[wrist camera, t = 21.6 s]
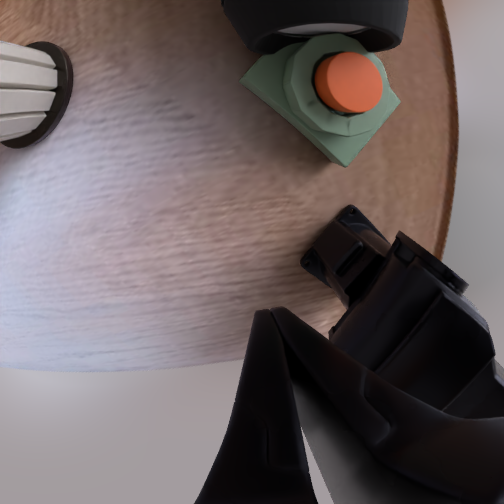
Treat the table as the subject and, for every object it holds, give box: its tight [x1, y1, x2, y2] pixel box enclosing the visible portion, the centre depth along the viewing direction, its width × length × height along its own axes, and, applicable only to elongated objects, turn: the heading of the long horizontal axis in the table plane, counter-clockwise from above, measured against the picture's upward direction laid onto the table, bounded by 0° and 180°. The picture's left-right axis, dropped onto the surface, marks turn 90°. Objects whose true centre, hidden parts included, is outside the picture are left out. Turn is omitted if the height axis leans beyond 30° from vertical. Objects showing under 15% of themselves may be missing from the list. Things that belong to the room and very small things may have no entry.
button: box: [315, 52, 383, 113], centre depth 13 cm, size 4×4×2 cm
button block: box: [239, 33, 401, 168], centre depth 15 cm, size 9×7×4 cm
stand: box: [0, 41, 73, 149], centre depth 10 cm, size 8×8×6 cm
